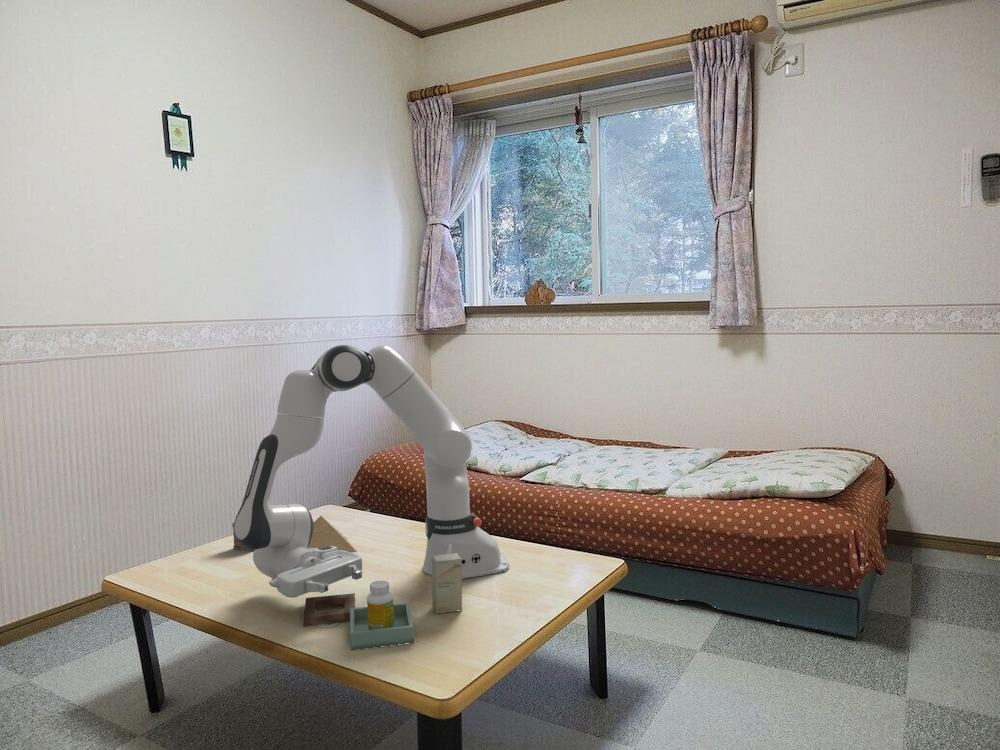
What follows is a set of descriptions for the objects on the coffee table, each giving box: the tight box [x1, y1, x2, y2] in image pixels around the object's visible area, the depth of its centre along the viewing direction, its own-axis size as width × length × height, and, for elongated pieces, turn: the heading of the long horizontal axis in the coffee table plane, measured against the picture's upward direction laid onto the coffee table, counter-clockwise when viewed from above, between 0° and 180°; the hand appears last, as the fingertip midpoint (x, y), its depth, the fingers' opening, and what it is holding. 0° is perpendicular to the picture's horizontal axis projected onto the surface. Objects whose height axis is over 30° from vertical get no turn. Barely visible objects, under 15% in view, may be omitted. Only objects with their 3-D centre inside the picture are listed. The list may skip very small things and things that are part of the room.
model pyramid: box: [308, 515, 358, 553], centre depth 207 cm, size 17×17×10 cm
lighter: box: [231, 522, 254, 552], centre depth 208 cm, size 8×3×10 cm, turn 76°
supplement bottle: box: [366, 580, 394, 630], centre depth 151 cm, size 5×5×10 cm
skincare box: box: [431, 553, 463, 615], centre depth 163 cm, size 6×4×12 cm
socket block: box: [302, 592, 356, 628], centre depth 162 cm, size 11×11×2 cm
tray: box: [349, 602, 415, 651], centre depth 152 cm, size 13×13×4 cm
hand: (343, 581), depth 159 cm, fingers open, 8 cm apart
